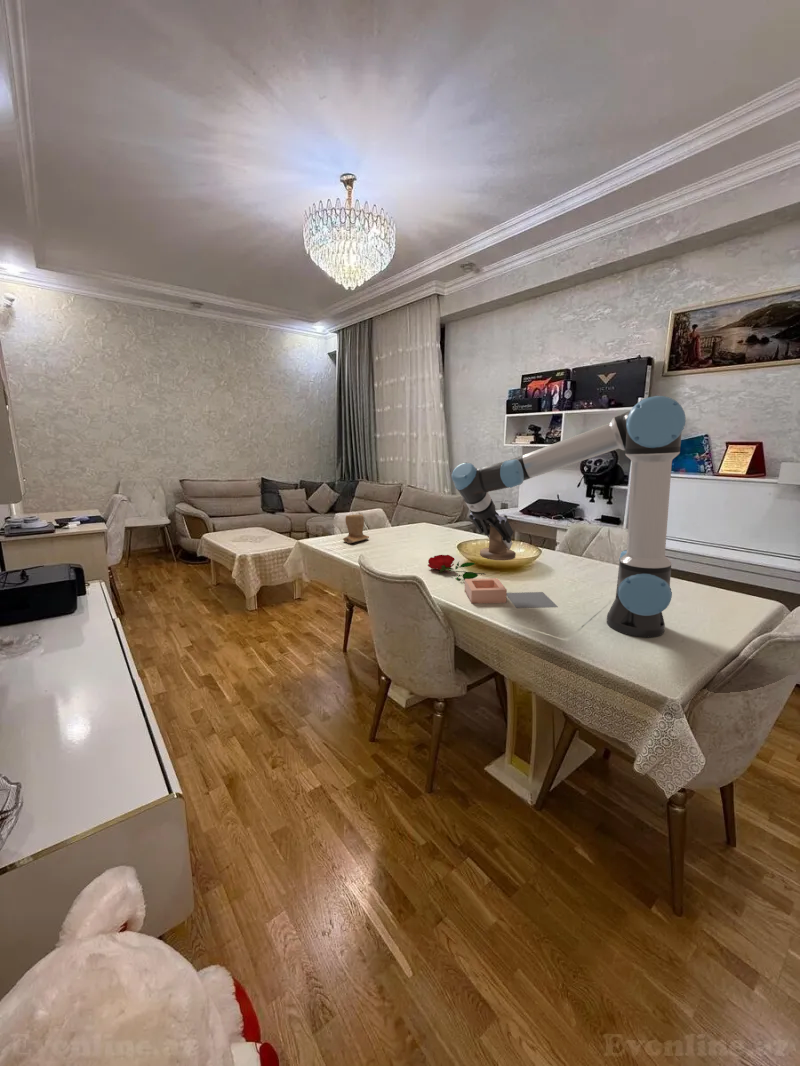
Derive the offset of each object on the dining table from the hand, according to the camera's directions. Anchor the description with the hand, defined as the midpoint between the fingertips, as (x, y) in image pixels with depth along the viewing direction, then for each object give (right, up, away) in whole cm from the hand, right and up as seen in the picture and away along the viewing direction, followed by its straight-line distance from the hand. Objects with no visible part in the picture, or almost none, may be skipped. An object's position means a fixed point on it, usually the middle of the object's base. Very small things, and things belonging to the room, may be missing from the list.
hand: (503, 544), depth 150 cm
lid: (-3, -4, -2) cm, 5 cm away
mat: (+9, -19, -1) cm, 21 cm away
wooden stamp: (-61, 0, +86) cm, 105 cm away
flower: (-13, -14, +25) cm, 32 cm away
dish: (-6, -19, +2) cm, 20 cm away
